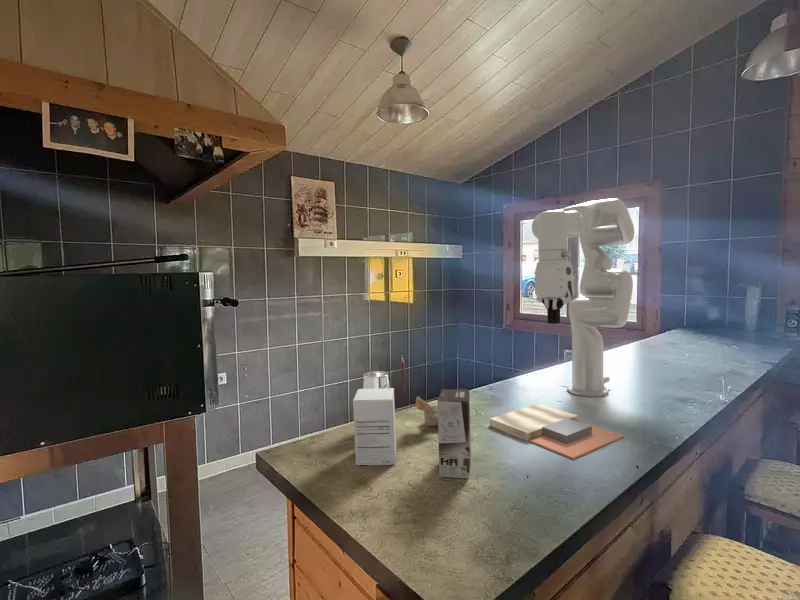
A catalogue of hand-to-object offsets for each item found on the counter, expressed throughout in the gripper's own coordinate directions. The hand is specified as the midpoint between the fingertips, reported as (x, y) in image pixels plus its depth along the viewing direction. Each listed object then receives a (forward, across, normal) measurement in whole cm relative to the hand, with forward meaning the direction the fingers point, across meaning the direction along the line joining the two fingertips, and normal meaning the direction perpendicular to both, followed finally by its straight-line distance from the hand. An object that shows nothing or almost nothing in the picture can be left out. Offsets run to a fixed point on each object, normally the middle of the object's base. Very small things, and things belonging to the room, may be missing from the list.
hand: (553, 323), depth 117 cm
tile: (+25, -10, +9) cm, 29 cm away
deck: (+26, 0, +9) cm, 28 cm away
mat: (+26, -13, +10) cm, 31 cm away
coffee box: (+26, -7, +42) cm, 50 cm away
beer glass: (+26, +23, +44) cm, 56 cm away
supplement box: (+26, +8, +53) cm, 60 cm away
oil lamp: (+26, +16, +27) cm, 41 cm away
